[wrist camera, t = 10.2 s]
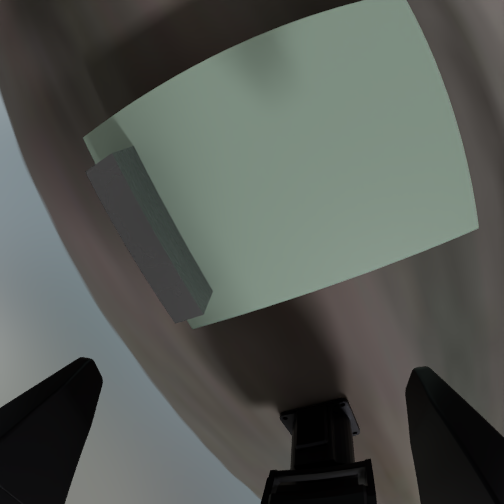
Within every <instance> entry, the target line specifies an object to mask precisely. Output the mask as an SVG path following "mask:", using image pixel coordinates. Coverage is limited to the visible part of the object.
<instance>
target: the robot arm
mask: <svg viewBox="0 0 504 504" xmlns="http://www.w3.org/2000/svg"><path fill="white" fill-rule="evenodd" d="M102 383H103V380H102V376H101V374H100V372H99V370H98V368H97V366H96V364H95V362H94V361H93V360H92V359H90V358H84V357H80V358H78V359H77V360H75V361H73V362H72V363H70V364H69V365H67V366H65V367H64V368H62V369H61V370H59V371H58V372H56V373H55V374H53V375H51V376H50V377H48V378H46V379H45V380H43V381H42V382H40V383H39V384H37V385H35V386H34V387H33V388H31V389H29V390H28V391H26V392H24V393H23V394H21V395H20V396H18V397H17V398H15V399H13V400H12V401H10V402H9V403H7V404H5V405H4V406H2V407H1V408H0V504H65V501H66V498H67V495H68V491H69V488H70V485H71V482H72V479H73V476H74V473H75V470H76V467H77V464H78V461H79V458H80V455H81V453H82V450H83V447H84V444H85V441H86V439H87V436H88V433H89V430H90V428H91V424H92V421H93V418H94V414H95V410H96V406H97V402H98V399H99V395H100V392H101V388H102ZM405 396H406V404H407V414H408V423H409V435H410V444H411V450H412V455H413V460H414V465H415V471H416V476H417V482H418V488H419V495H420V501H421V504H504V437H503V436H502V435H501V434H500V433H499V432H498V431H497V430H496V429H495V428H494V427H493V426H491V425H490V424H489V423H488V422H487V421H486V420H485V419H484V418H483V417H482V416H481V415H480V414H479V413H478V412H477V411H476V410H475V409H474V408H473V407H471V406H470V405H469V404H468V403H467V402H466V401H465V400H464V399H463V398H462V397H461V396H460V395H459V394H458V393H457V392H455V391H454V390H453V389H452V388H451V387H450V386H449V385H448V384H447V383H446V382H445V381H444V380H442V379H441V378H440V377H439V376H438V375H437V374H436V373H435V372H434V371H433V370H432V369H430V368H429V367H427V366H425V367H417V368H414V369H413V370H412V373H411V375H410V378H409V381H408V384H407V387H406V392H405ZM280 420H281V421H282V423H283V424H284V425H285V427H286V428H287V429H288V431H289V432H290V434H291V435H292V448H291V468H290V470H282V471H277V470H270V474H269V477H268V478H267V481H266V485H265V489H264V493H263V497H262V501H261V504H377V501H376V491H375V484H374V477H373V470H372V463H371V459H366V460H365V461H360V462H355V458H354V447H353V437H352V436H355V435H358V434H359V433H360V429H359V427H358V424H357V422H356V419H355V417H354V414H353V412H352V410H351V407H350V405H349V402H348V400H347V399H345V398H342V399H338V400H334V401H330V402H326V403H322V404H318V405H314V406H310V407H306V408H301V409H297V410H292V411H287V412H283V413H281V414H280Z"/></svg>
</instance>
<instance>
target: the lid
mask: <svg viewBox="0 0 504 504" xmlns="http://www.w3.org/2000/svg"><path fill="white" fill-rule="evenodd" d="M83 139H84V141H85V143H86V146H87V148H88V150H89V152H90V154H91V156H92V158H93V160H94V162H95V165H94V166H92V167H91V168H90V169H88V170H87V171H85V172H86V174H87V176H88V178H89V180H90V182H91V184H92V186H93V188H94V190H95V191H96V193H97V195H98V197H99V199H100V201H101V203H102V205H103V206H104V208H105V210H106V212H107V214H108V215H109V217H110V219H111V221H112V223H113V224H114V226H115V228H116V230H117V231H118V233H119V235H120V237H121V238H122V240H123V242H124V243H125V245H126V247H127V249H128V250H129V252H130V254H131V255H132V257H133V259H134V260H135V262H136V263H137V265H138V267H139V268H140V270H141V272H142V273H143V275H144V276H145V278H146V280H147V281H148V283H149V284H150V286H151V287H152V289H153V291H154V292H155V294H156V295H157V297H158V298H159V300H160V301H161V303H162V304H163V306H164V307H165V309H166V310H167V312H168V313H169V315H170V316H171V318H172V319H173V321H174V322H175V323H178V322H182V321H185V320H187V321H188V323H189V324H190V326H191V327H192V329H195V328H199V327H202V326H206V325H209V324H212V323H216V322H219V321H223V320H226V319H229V318H233V317H236V316H239V315H242V314H246V313H249V312H252V311H255V310H258V309H262V308H265V307H268V306H271V305H274V304H277V303H280V302H283V301H286V300H290V299H293V298H296V297H299V296H302V295H305V294H308V293H310V292H313V291H316V290H319V289H322V288H325V287H328V286H331V285H334V284H337V283H339V282H342V281H345V280H348V279H351V278H353V277H356V276H359V275H362V274H364V273H367V272H370V271H373V270H375V269H378V268H381V267H383V266H386V265H389V264H391V263H394V262H397V261H399V260H402V259H404V258H407V257H410V256H412V255H415V254H417V253H420V252H422V251H425V250H427V249H430V248H432V247H435V246H437V245H440V244H442V243H445V242H447V241H450V240H452V239H454V238H457V237H459V236H462V235H464V234H466V233H469V232H471V231H473V230H476V229H478V228H479V226H478V219H477V212H476V205H475V199H474V194H473V188H472V183H471V178H470V173H469V169H468V164H467V160H466V156H465V151H464V147H463V144H462V140H461V136H460V132H459V129H458V125H457V122H456V119H455V115H454V112H453V109H452V106H451V103H450V100H449V97H448V94H447V91H446V88H445V85H444V83H443V80H442V77H441V75H440V72H439V69H438V67H437V64H436V62H435V60H434V57H433V55H432V52H431V50H430V48H429V45H428V43H427V41H426V39H425V37H424V34H423V32H422V30H421V28H420V26H419V24H418V22H417V20H416V18H415V16H414V14H413V12H412V10H411V8H410V6H409V4H408V3H407V1H406V0H364V1H360V2H356V3H352V4H348V5H344V6H341V7H337V8H334V9H331V10H327V11H324V12H321V13H318V14H315V15H311V16H308V17H306V18H303V19H300V20H297V21H294V22H291V23H289V24H286V25H283V26H281V27H278V28H275V29H273V30H270V31H268V32H265V33H263V34H261V35H258V36H256V37H253V38H251V39H249V40H247V41H244V42H242V43H240V44H238V45H235V46H233V47H231V48H229V49H227V50H225V51H223V52H221V53H219V54H216V55H214V56H212V57H210V58H208V59H206V60H205V61H203V62H201V63H199V64H197V65H195V66H193V67H191V68H189V69H188V70H186V71H184V72H182V73H180V74H178V75H177V76H175V77H173V78H171V79H170V80H168V81H166V82H165V83H163V84H161V85H160V86H158V87H156V88H155V89H153V90H151V91H150V92H148V93H146V94H145V95H143V96H142V97H140V98H139V99H137V100H135V101H134V102H132V103H131V104H129V105H128V106H126V107H125V108H123V109H122V110H120V111H119V112H118V113H116V114H115V115H113V116H112V117H110V118H109V119H108V120H106V121H105V122H103V123H102V124H101V125H99V126H98V127H96V128H95V129H94V130H92V131H91V132H90V133H88V134H87V135H86V136H85V137H83Z"/></svg>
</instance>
